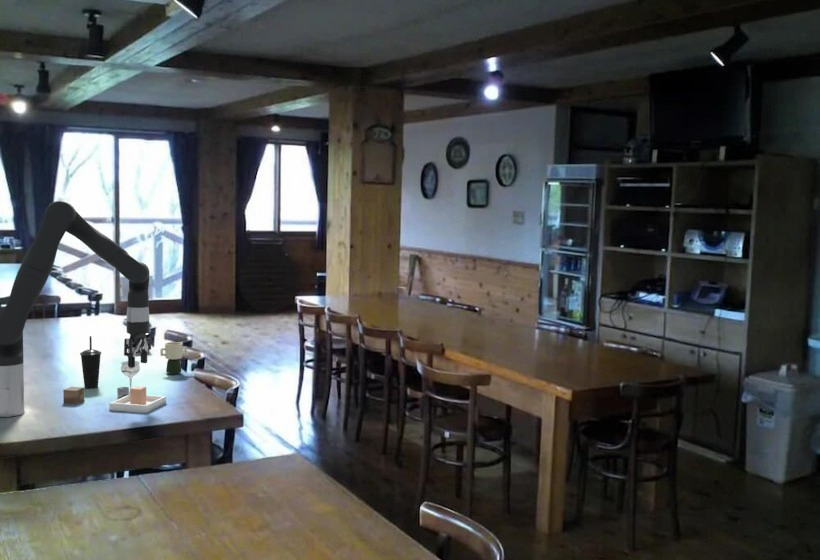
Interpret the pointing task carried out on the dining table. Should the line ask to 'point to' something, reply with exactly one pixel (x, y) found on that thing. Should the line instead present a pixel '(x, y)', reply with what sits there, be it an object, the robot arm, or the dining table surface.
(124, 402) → the tray
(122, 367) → the wineglass
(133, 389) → the terracotta block
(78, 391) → the walnut cube
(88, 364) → the drinking cup
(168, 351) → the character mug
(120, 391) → the grey cube
